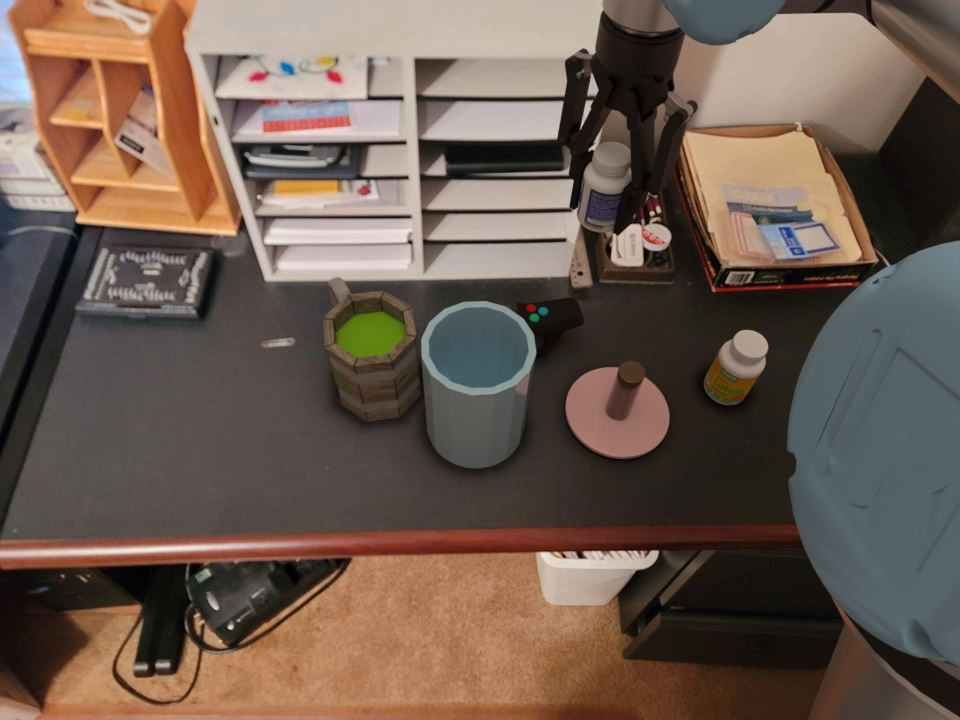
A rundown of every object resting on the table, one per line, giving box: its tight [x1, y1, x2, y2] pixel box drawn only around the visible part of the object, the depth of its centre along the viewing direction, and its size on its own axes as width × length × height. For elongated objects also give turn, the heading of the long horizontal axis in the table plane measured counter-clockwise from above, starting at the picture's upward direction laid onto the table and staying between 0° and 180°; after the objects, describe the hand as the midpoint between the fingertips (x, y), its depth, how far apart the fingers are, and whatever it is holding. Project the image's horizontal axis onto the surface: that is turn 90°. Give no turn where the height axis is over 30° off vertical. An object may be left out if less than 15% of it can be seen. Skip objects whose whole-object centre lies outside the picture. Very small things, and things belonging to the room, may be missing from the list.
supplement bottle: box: [703, 329, 769, 406], centre depth 84 cm, size 5×5×10 cm
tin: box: [420, 300, 537, 469], centre depth 77 cm, size 12×12×16 cm
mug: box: [322, 276, 422, 423], centre depth 83 cm, size 16×11×12 cm
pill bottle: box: [576, 141, 631, 233], centre depth 75 cm, size 5×5×9 cm
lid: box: [564, 360, 671, 460], centre depth 82 cm, size 13×13×10 cm
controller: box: [500, 296, 585, 358], centre depth 87 cm, size 4×12×10 cm, turn 103°
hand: (600, 214), depth 79 cm, fingers closed on pill bottle, 5 cm apart
